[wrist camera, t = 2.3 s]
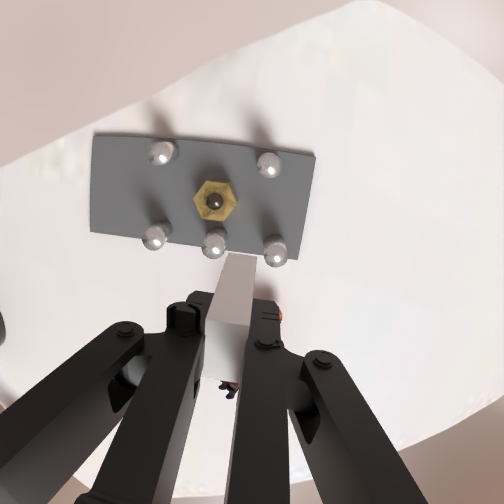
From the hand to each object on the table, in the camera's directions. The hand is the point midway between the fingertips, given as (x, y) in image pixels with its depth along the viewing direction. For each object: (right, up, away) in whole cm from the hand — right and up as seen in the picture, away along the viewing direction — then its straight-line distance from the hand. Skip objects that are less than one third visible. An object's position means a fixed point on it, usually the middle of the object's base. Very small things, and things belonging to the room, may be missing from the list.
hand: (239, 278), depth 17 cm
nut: (-3, +7, +18) cm, 19 cm away
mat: (-6, +8, +18) cm, 21 cm away
